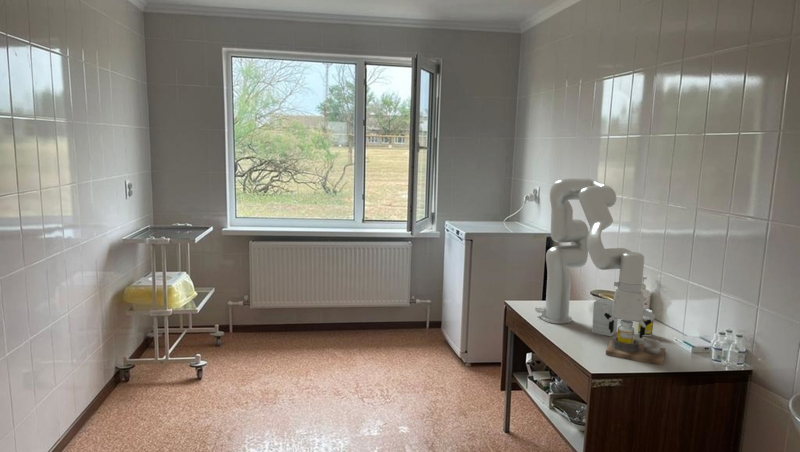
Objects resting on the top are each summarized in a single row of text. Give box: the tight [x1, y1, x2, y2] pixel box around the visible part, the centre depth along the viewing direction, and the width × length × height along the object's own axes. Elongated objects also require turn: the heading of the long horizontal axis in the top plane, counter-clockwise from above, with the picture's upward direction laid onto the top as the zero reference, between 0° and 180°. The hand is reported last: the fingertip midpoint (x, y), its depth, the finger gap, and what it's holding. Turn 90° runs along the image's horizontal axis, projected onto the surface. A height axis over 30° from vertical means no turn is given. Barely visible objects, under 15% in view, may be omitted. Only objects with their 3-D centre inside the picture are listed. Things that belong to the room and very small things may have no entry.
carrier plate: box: [605, 336, 666, 366], centre depth 185 cm, size 18×14×6 cm
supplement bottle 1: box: [616, 319, 635, 344], centre depth 187 cm, size 5×5×10 cm
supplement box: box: [591, 298, 619, 337], centre depth 207 cm, size 7×7×13 cm
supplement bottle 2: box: [636, 308, 655, 337], centre depth 205 cm, size 5×5×10 cm
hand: (626, 334), depth 186 cm, fingers open, 9 cm apart
